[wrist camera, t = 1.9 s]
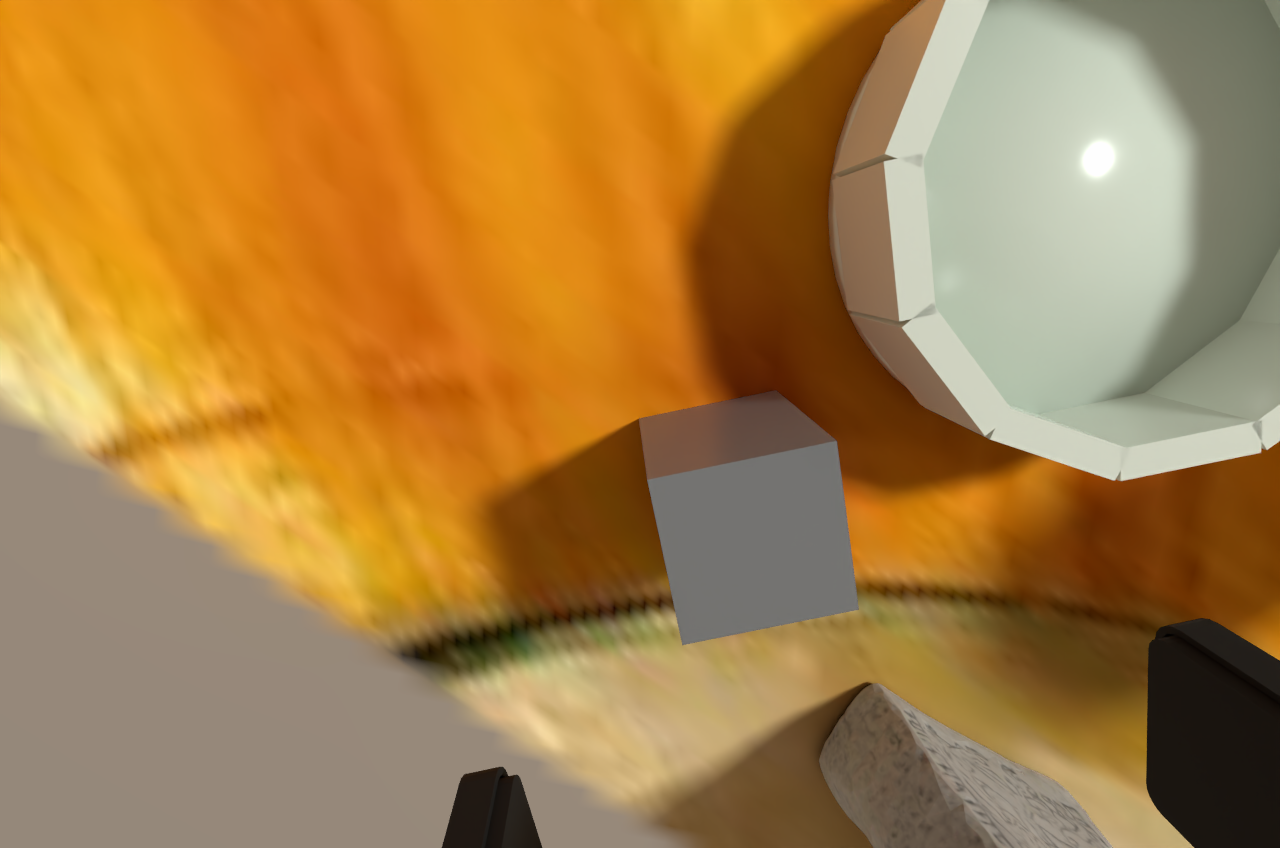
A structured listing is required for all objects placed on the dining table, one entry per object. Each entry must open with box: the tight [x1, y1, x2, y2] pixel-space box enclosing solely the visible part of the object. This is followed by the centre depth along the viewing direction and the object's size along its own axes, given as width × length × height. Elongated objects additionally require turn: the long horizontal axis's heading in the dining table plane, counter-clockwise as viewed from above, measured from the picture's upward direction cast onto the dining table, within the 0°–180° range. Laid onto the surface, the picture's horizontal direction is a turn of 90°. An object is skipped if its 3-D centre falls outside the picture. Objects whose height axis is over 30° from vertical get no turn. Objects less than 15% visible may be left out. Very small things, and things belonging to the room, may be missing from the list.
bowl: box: [828, 0, 1280, 481], centre depth 19 cm, size 16×16×5 cm
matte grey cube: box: [639, 390, 859, 645], centre depth 20 cm, size 5×5×6 cm
